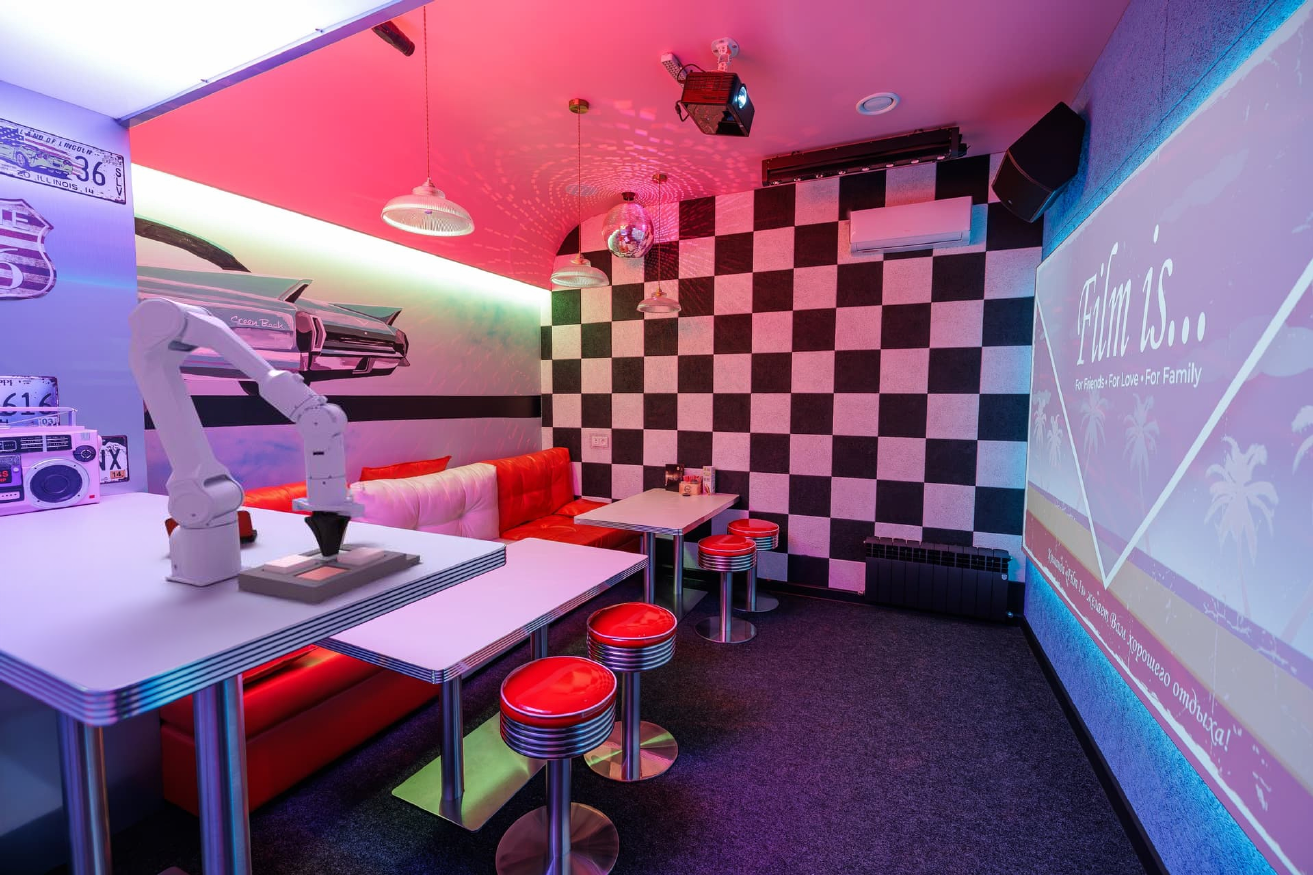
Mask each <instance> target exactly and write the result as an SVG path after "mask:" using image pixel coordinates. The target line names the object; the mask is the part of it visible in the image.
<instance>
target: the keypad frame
mask: <svg viewBox="0 0 1313 875" xmlns="http://www.w3.org/2000/svg"><path fill="white" fill-rule="evenodd" d="M361 547H362V546H360V545H359V546H357V545H351V544H344V543H343V544H341V545H340V550H342V551H352V550H355V549H358V548H361ZM364 547H365V546H364ZM365 548H367V547H365ZM371 548H372V547H371ZM372 549H375V548H372ZM379 550H381V549H380V548H379ZM383 550H384V557H382V558H379V559H377V560H374V561H371V562H368V563H366V564H363V565H360V566H357V565H351V564H344V563H338V559H337V558H334V559H331V560H328V561H326V560H319V559H315V565H313V566H310V567H307V568H304V569H301V570H298V571H295V572H292V573H289V574H286V575H283V574H278V573H272V572H267V571H264V564H262V565H259V566H256V567H254V568H252V569H249V570H246V571H242V572H239V573H237V574H238V575H237V584H238V588H237V589H238V590H243V591H249V592H251V593H252V592H253V593H258V594H262V595H263V594H264V595H267V596H273V597H279V598H281V599H282V598H283V599H287V600H293V601H298V602H303V603H307V604H313V605H318V604H320V603H323V602H325V601H328V600H330V599H332V598H336V597H337V596H340V595H342V594H345V593H347V592H348V593H349V592H350V591H352V590H355V589H357V588H360V587H363V586H365V585H367V584H369V583H373V582H374V581H376V580H377V581H378V580H379V579H381V578H384V577H387V576H390V575H393V574H395V573H397V572H399V571H401V570H404V569H407V568H409V567H411V566H410V565H412V566H413V564H414V565H416V564H415V563H417V564H419V563H420V562H421V556H420V555H418V554H412V553H406V552H400V551H394V550H386V549H383ZM319 553H321V550H320V548H319V547H318V548H315V549H312V550H309V551H305V552H303V553H299V554H297V555H300V556H306V557H310V556H313V555H316V554H319ZM419 561H420V562H419ZM418 562H419V563H418ZM325 566H326V567H332V568H338V569H344V570H346V571H344V572H341V573H338V574H335V575H333V576H330V577H327V578H324V579H322V580H319V581H316V580H311V579H305V578H300V577H296V576H299V575H302V574H304V573H307V572H310V571H313V570H316V569H319V568H322V567H325ZM406 567H407V568H406Z"/></svg>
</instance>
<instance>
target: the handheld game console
mask: <svg viewBox="0 0 1313 875" xmlns="http://www.w3.org/2000/svg"><path fill="white" fill-rule="evenodd" d="M237 515H238V526H239V539H240V544H247V543H248V544H249V543H253V542H254V541H255V539H256V536H257V534H258V530H257V529H254V528H253V522H252V516H251V513H250V511H248V510H243V509H242V510H237ZM164 525H165V526H164V527H165V529H166V532H167V536H168V539H169V538H170V535H171V533H172V531H173V530H174V529H175V528H176V527H177V526H178V525H179V523H177V522H176V521H174V520H173V518H172V517H169V518H167V519H165V521H164Z"/></svg>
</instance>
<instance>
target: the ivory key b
mask: <svg viewBox="0 0 1313 875" xmlns="http://www.w3.org/2000/svg"><path fill="white" fill-rule="evenodd" d="M360 547H361V548H358V549H355V550H352V551H349V552H346V553H343V554H340V555H337V559H338V563H344V564H351V565H357V566H360V565H363V564H366V563H368V562H371V561H374V560H377V559H379V558H382V557H384V550H385V549H380V548H379V549H380V550H379V549H378V548H374V549H372V547H366V548H365V546H360Z"/></svg>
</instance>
